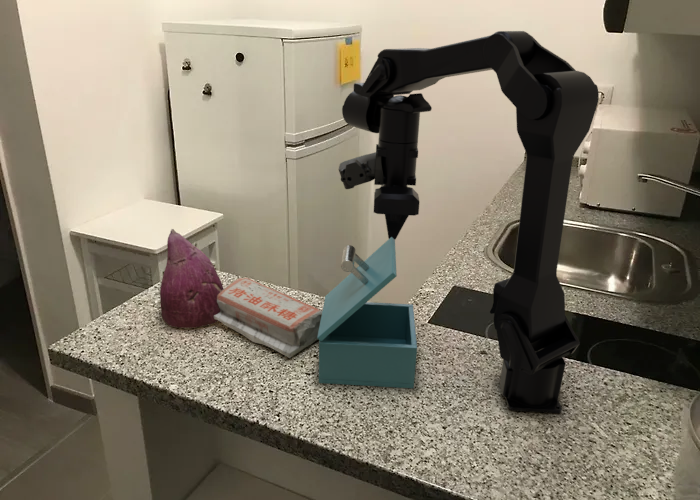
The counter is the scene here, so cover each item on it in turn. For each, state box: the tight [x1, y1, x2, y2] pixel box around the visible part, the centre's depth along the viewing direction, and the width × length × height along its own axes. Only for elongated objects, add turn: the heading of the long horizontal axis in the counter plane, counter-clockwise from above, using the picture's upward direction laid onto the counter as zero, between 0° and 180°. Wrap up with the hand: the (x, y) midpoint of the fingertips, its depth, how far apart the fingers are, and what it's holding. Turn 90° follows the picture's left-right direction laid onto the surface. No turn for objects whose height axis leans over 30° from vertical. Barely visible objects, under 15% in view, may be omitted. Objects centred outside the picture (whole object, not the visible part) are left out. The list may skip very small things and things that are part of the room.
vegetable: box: [159, 228, 225, 329], centre depth 89 cm, size 10×10×15 cm
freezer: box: [318, 301, 418, 389], centre depth 80 cm, size 12×11×6 cm
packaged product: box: [214, 277, 323, 359], centre depth 88 cm, size 18×5×10 cm
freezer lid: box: [317, 237, 398, 341], centre depth 76 cm, size 13×11×5 cm
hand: (392, 238), depth 91 cm, fingers closed
